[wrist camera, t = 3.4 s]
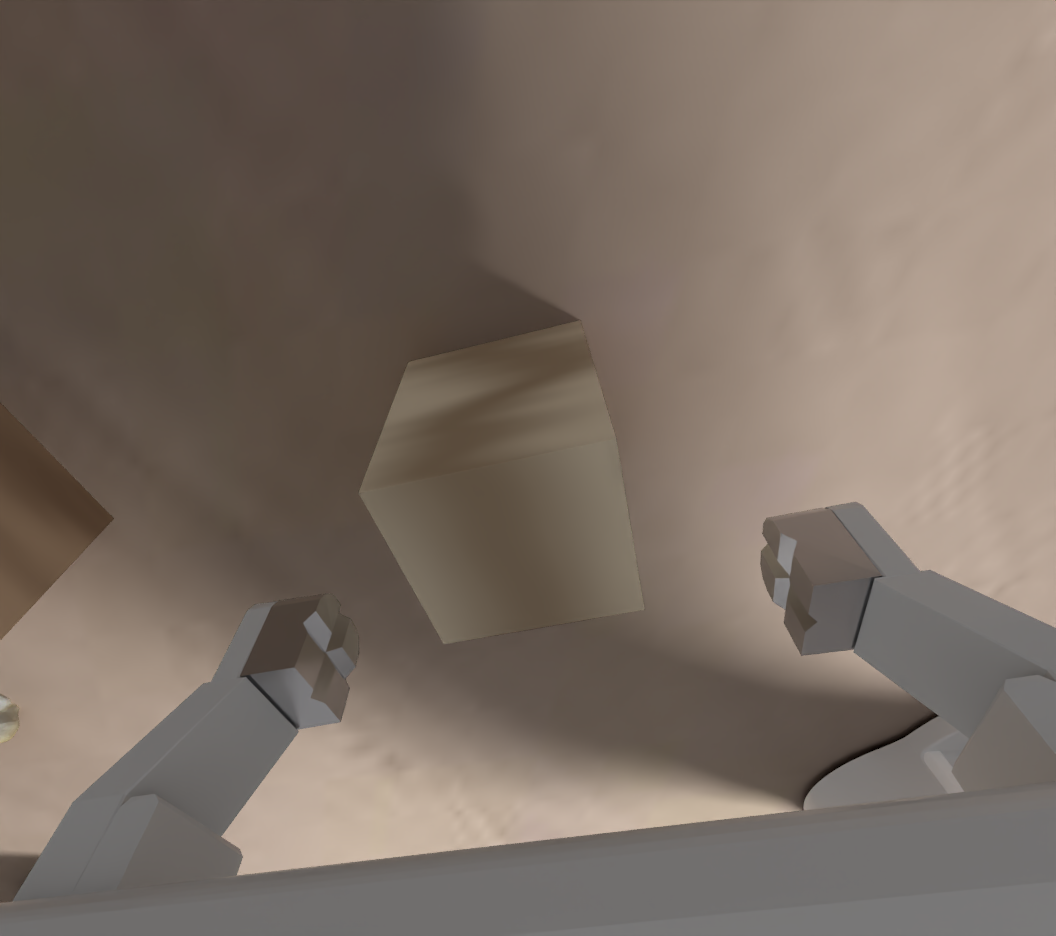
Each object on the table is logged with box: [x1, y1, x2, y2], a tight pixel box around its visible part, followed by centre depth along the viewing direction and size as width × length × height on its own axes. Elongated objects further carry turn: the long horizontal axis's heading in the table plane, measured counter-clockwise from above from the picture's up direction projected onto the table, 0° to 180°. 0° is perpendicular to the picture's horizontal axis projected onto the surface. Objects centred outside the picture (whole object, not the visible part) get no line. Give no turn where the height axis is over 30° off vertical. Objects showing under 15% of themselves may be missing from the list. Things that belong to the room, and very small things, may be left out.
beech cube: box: [358, 320, 645, 644], centre depth 13 cm, size 5×5×6 cm
